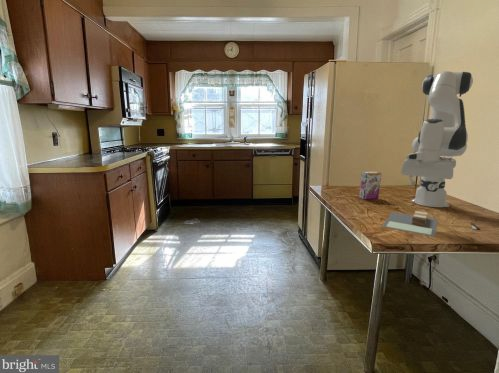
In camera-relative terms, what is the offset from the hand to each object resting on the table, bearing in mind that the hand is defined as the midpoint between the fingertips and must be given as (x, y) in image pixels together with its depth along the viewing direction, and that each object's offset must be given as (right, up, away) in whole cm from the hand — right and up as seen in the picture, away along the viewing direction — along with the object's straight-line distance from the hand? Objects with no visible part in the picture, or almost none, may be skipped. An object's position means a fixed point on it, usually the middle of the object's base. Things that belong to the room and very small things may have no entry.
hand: (424, 186), depth 135 cm
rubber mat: (-6, -17, +1) cm, 18 cm away
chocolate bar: (+20, -18, +5) cm, 27 cm away
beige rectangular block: (0, -16, +3) cm, 17 cm away
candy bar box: (-6, -8, +48) cm, 49 cm away
